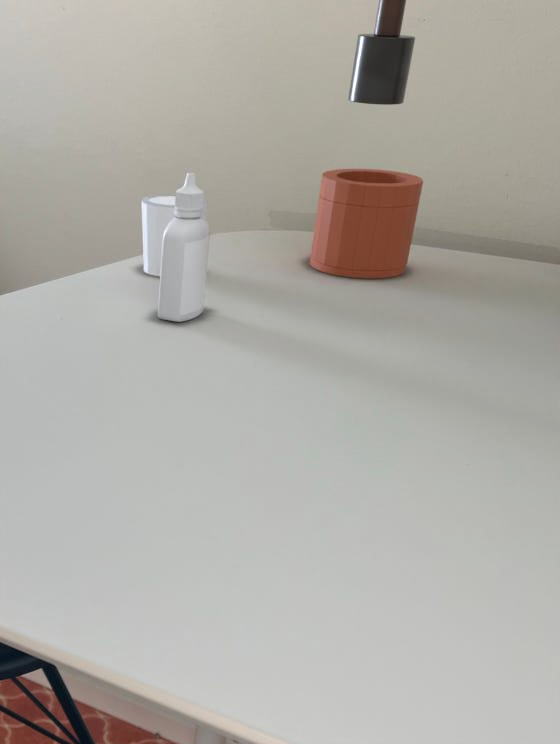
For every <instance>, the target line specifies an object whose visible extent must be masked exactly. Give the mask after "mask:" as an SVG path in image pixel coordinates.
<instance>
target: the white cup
mask: <svg viewBox="0 0 560 744" xmlns="http://www.w3.org/2000/svg"><path fill="white" fill-rule="evenodd" d="M175 197H176V194H156V195H155V194H154V195H150V196H145V197H143V198H141V225H142V226H141V227H142V229H141V230H142V253H143V254H142V255H143V257H142V258H143V259H142V260H143V272H144V273H146V274H147V275H150V276H153V277H159V278H160V270H161V255H162V242H163V234H164V231H165V229H166V227H167V225H168V224H169V223H170V222H171V221H172V220H173V219H174V217H175V216H176V215H175V214H174V212H175ZM207 209H208V200H206V199H204V198H203V208H202V216H200V217H201V219H203V220H205V221H206V216H207Z"/></svg>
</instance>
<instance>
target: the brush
mask: <svg viewBox="0 0 560 744" xmlns="http://www.w3.org/2000/svg"><path fill="white" fill-rule="evenodd" d="M406 5H407V0H379V1H378V6H377V12H376V18H375V25H374V31H373V33H360V34H358V35H357V40H356V46H355V54H354V59H353V67H352V73H351V79H350V85H349V92H348V101H349V102H353V103H359V104H367V105H385V106H386V105H388V106H391V105H401V104H403V103H404V102H405V95H406V92H407V91H406V90H407V84H408V80H409V75H410V70H411V69H410V68H411V63H412V58H413V52H414V47H415V42H416V37H415V36H413V35H405V34H401V33H402V26H403V20H404V15H405V9H406Z"/></svg>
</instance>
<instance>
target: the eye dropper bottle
mask: <svg viewBox="0 0 560 744" xmlns="http://www.w3.org/2000/svg"><path fill="white" fill-rule="evenodd" d="M204 194H205V192H204V191H203V190H202V189H201V188H199V187H198V185H197V177H196V173H194V172H187V174H186V177H185V181H184V184H183V186H182V187H180V188H178V189H176V190H175V195H176V197H175V212H174V214H175V215H176V216H175V217H174V219H173V220H172V221H171V222H170V223H169V224H168V225H167V227H166V229H165V231H164V234H163V242H162V255H161V270H160V277H159V289H158V303H157V304H158V305H157V317H158V318H159V319H160V320H165V321H169V322H176V323H182V322H186V321H190V320H193V319H195V318H197V317H199V316H200V315H201V314H202V312H203V311H204V307H205V297H206V285H207V273H208V263H209V251H210V249H209V248H210V238H211V237H210V236H211V228H210V225H209V223H208V222H207V221H206V219H205V220H203V219H201V217H200V216H202V208H203V199H204Z"/></svg>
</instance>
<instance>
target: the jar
mask: <svg viewBox="0 0 560 744" xmlns="http://www.w3.org/2000/svg"><path fill="white" fill-rule="evenodd" d="M321 174H322V175H321V180H320V186H319V187H320V188H319V194H318V202H317V209H316V216H315V223H314V230H313V236H312V242H311V243H312V244H311V250H310V260H309V265H310V266H311V267H312V268H313V269H314V270H316V271H319V272H321V273H325V274H328V275H332V276H339V277H344V278H351V279H352V278H353V279H368V280H369V279H374V280H375V279H376V280H377V279H389V278H394V277H398V276H401V275H403V274H404V273H405V272H406V269H407V264H408V261H409V257H410V256H409V255H410V250H411V246H412V240H413V237H414V236H413V235H414V231H415V227H416V226H415V225H416V220H417V215H418V211H419V210H418V209H419V204H420V200H421V195H422V191H423V184H424V180H423V179H422V177H419V176H418V175H414V174H410V173H407V172H401V171H395V170H386V169H375V168H373V169H372V168H341V169H340V168H339V169H332V170H327V171H323V172H322V173H321Z"/></svg>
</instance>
